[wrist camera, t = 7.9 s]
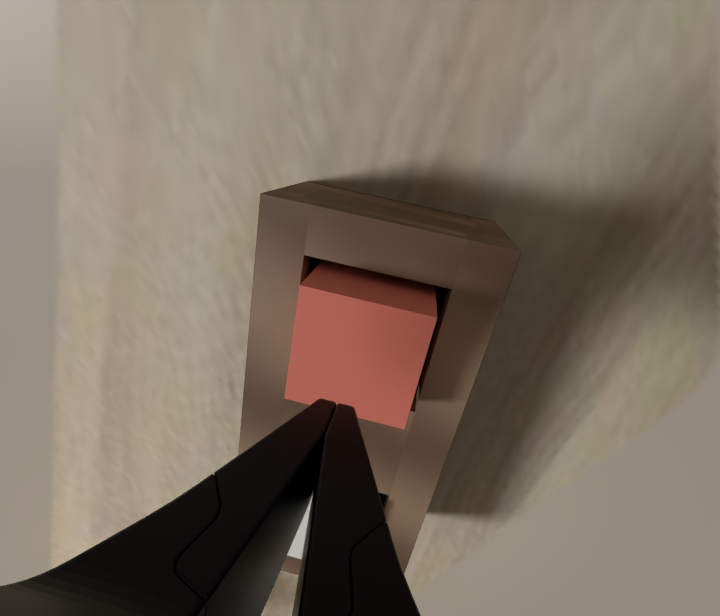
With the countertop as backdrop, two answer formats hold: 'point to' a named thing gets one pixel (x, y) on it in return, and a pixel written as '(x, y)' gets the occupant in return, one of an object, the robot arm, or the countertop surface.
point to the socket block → (393, 257)
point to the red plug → (360, 341)
